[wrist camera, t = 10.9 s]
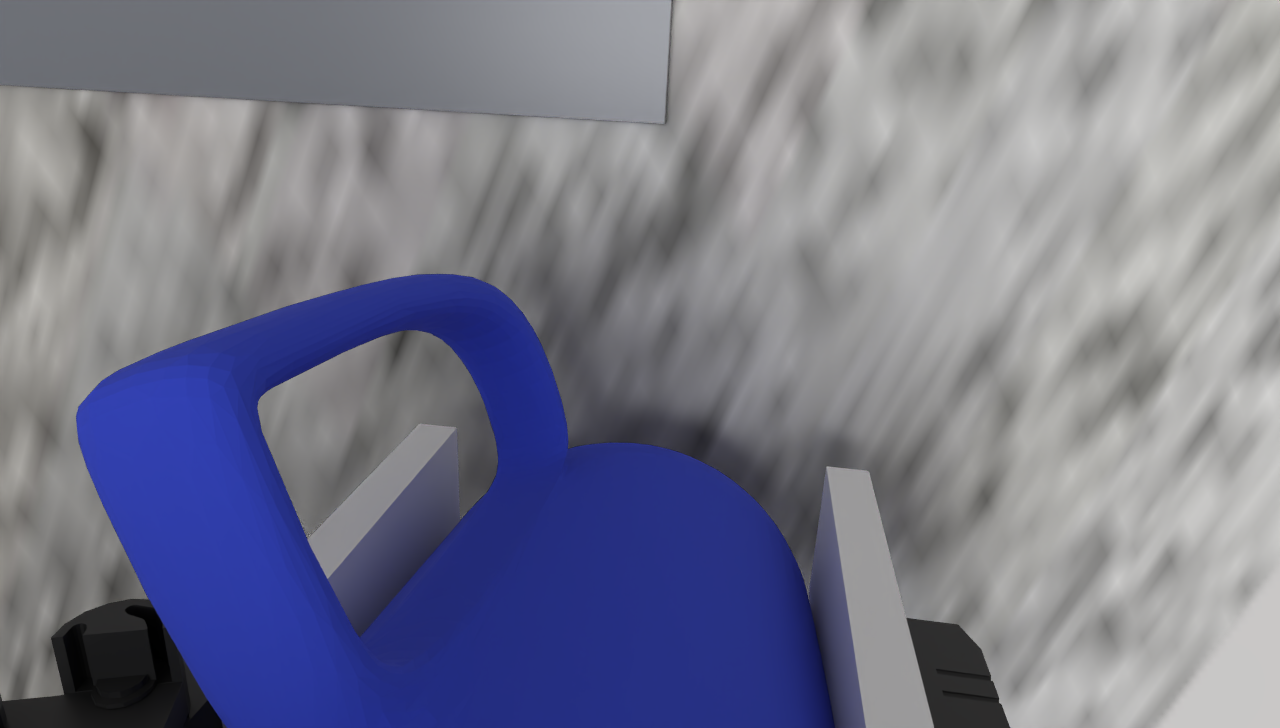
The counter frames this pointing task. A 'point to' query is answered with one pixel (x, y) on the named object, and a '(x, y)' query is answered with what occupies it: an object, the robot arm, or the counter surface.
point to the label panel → (355, 52)
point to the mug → (449, 548)
